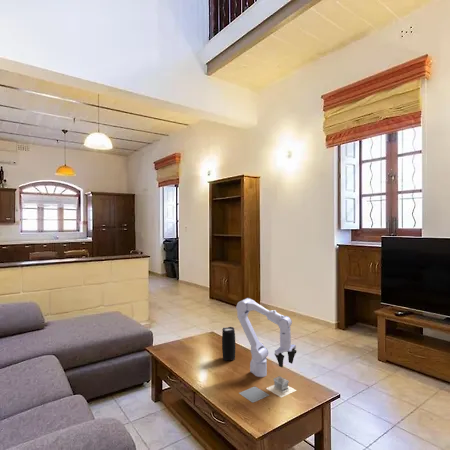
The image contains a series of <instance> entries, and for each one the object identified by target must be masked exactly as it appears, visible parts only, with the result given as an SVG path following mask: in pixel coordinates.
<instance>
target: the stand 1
mask: <svg viewBox="0 0 450 450" xmlns="http://www.w3.org/2000/svg"><path fill="white" fill-rule="evenodd" d="M238 394H239V395H241V396H242V397H243V398H245V399H246V400H248V401H250V402H251V403H256V402H258V401H260V400H262V399H265V398H266V397H269V396H270V394H268V393H267V392H265V391H263V390H262V389H260V388H258V387H257V386H252V387H249V388H248V389H245V390H243V391H240V392H238Z"/></svg>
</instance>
